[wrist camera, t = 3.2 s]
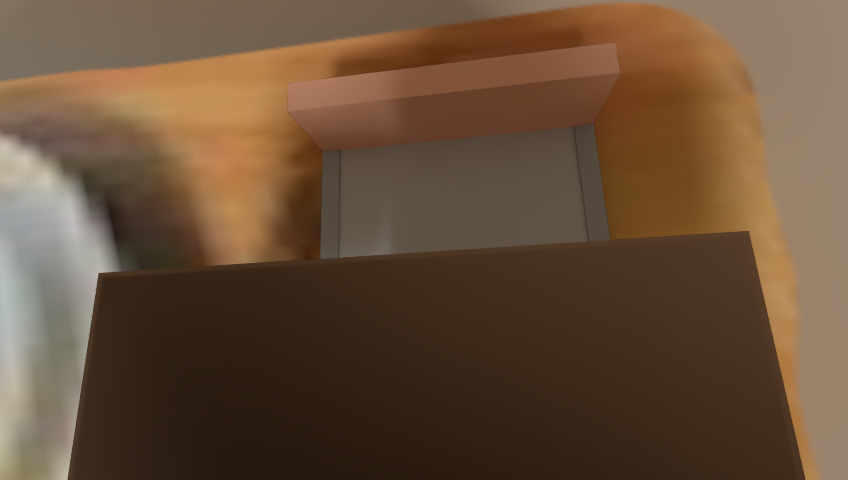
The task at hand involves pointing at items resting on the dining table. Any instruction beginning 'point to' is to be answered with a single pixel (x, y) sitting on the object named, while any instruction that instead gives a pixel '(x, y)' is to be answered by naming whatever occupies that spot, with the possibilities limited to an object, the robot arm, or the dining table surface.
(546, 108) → the bay
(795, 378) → the dining table surface
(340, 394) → the brown wooden block
